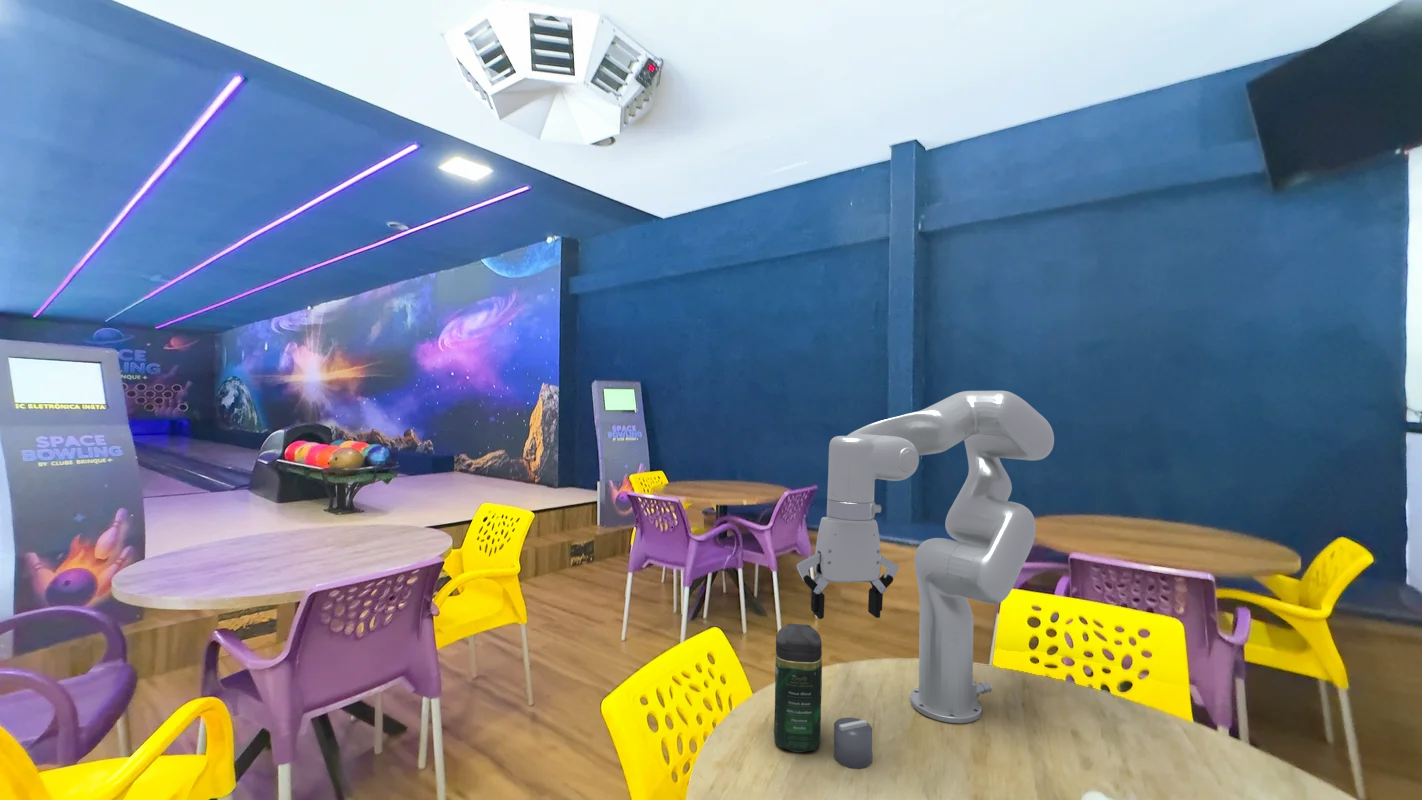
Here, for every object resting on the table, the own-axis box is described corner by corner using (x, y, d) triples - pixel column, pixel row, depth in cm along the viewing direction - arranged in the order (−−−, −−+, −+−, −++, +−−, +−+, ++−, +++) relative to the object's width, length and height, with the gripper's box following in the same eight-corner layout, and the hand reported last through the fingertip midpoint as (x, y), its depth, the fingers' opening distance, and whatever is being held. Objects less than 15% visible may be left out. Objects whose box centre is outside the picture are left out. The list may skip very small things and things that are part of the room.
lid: (857, 744, 102) (857, 711, 102) (879, 764, 97) (879, 729, 97) (826, 751, 100) (827, 717, 100) (847, 772, 94) (847, 736, 94)
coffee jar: (822, 756, 98) (823, 642, 98) (773, 752, 99) (774, 639, 99) (819, 725, 108) (821, 620, 108) (775, 721, 109) (776, 618, 109)
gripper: (888, 508, 105) (885, 607, 105) (792, 506, 102) (788, 609, 102) (910, 515, 98) (906, 622, 97) (807, 514, 95) (803, 624, 94)
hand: (846, 615), depth 100 cm, fingers open, 9 cm apart
